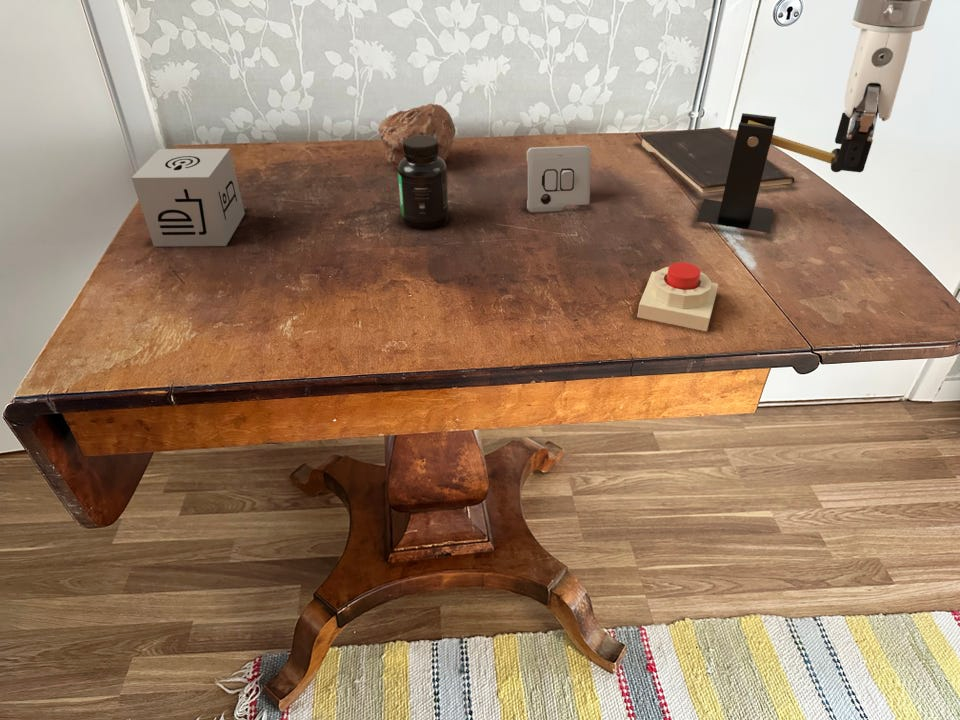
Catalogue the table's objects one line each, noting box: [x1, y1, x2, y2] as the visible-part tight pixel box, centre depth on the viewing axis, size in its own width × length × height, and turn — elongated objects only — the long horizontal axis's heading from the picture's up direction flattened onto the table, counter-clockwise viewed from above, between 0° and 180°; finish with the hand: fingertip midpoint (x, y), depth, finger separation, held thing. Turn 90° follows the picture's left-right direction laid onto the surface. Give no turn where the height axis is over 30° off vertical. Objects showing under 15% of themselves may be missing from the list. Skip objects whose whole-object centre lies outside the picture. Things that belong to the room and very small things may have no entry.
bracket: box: [696, 112, 777, 234], centre depth 98 cm, size 10×8×15 cm
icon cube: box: [131, 148, 246, 248], centre depth 98 cm, size 10×10×10 cm
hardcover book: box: [639, 126, 795, 194], centre depth 118 cm, size 16×23×2 cm
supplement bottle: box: [397, 135, 449, 231], centre depth 99 cm, size 7×7×12 cm
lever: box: [747, 120, 842, 173], centre depth 93 cm, size 13×5×2 cm, turn 68°
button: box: [666, 262, 701, 290], centre depth 81 cm, size 4×4×2 cm
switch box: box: [636, 266, 719, 332], centre depth 83 cm, size 8×8×4 cm
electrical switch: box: [526, 145, 592, 213], centre depth 104 cm, size 9×5×9 cm, turn 95°
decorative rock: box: [377, 103, 457, 170], centre depth 117 cm, size 13×11×10 cm
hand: (847, 156), depth 91 cm, fingers open, 9 cm apart
